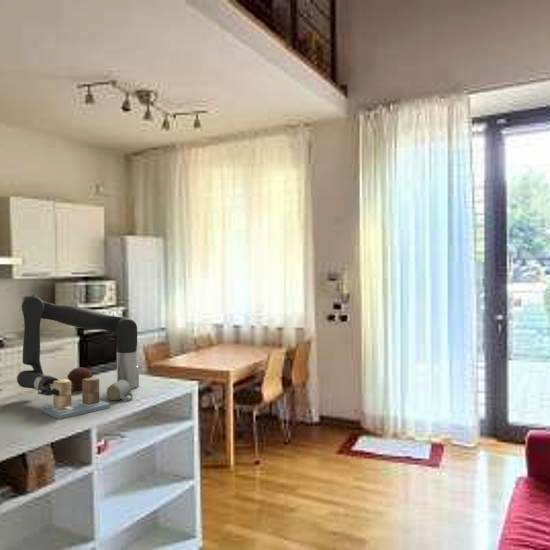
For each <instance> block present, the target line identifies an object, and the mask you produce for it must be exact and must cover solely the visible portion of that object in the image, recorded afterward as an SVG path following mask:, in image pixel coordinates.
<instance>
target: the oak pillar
mask: <svg viewBox="0 0 550 550" xmlns="http://www.w3.org/2000/svg"><path fill="white" fill-rule="evenodd" d="M53 388H54V389H57V390H59V396H56V395H53V406H55V407H57V408H63V407H68V406H71V402H72V393H71V381H70V380H69V379H68V378H64V379H58V380H57V381H53Z"/></svg>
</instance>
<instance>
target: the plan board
mask: <svg viewBox="0 0 550 550" xmlns="http://www.w3.org/2000/svg"><path fill="white" fill-rule="evenodd" d="M99 402H100V403H96V404H91V405H86V404H84V403H82V399H80V400H75V401H71V406H68V407H63V408H57V407H55V406H54V405H52V406H51V405H50V406H47V407H43V408H42V413H44V412H45V414H46V413H47V415H49V416H51V417H53V418H55V419H57V420H61V419H66V418H70V417H74V416H79V415H84V414H87V413H91V412H95V411H96V412H97V411H100V410H106V409H109V408H111V407H112V405H111V403H110V402H108V401H107V402H106V401H104V400H101V399H99Z"/></svg>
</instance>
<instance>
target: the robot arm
mask: <svg viewBox="0 0 550 550" xmlns="http://www.w3.org/2000/svg"><path fill="white" fill-rule="evenodd" d="M21 312H22V314H23V315H22V316H23V323H24V330H23V331H24V334H23V342H22V343H23V344H22V360H21V361H22V364H23V365H27V366H31V368H32V370H26V369H25V370H22V371H20V372H19V373H18V375H17V377H16V381H17V385H19V387H22V388H25V389H33V390H36V391H37V394H38V395H42V396H46V397H49V396H54V395H56V396H59V390H57V389H54V388H53V381H57V380H59V379H58V378H57V377H54V376H51V375H49V374H44V371H43V367H42V364H41V336H40V333H41V332H40V331H41V330H40V328H41V321H42V320H49V321H54V322H57V323H61V324H63V325H66V326H72V327H76V328H80V329H86V330H101V331H103V330H104V331H107V332H111V333H114V334H116V382H118V381H120V380H125V381H127V382H128V383H129V385H130V387H131V388H132V389H135V387H136V388H137V386H138V387H139V386H140V384H139V383H140V380H139V379H140V377H139V376H140V374H139V373H140V369H139V366H138V365H137V364H138V362H137V361H138V357H137V356H138V352H137V349H138V348H137V347H138V325H137V323H136V322H135V321H134V319H132V318H131V317H128V316H127V317H126V316H117V315H116V316H115V315H109V314H105V313H102V312H100V311H97V310H94V309H93V310H92V309H89V308H85V307H80V306H73V305H65V304H64V305H62V304H61V305H60V304H54V303H51V302H47V301H44V300H42V299H41V297H39V296H34V295H31V296H28V297H26V298H25V299H24V300H23V301H22V304H21ZM74 392H75V391H74V388H73V384H72V383H71V394H73V393H74Z"/></svg>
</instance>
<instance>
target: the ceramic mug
mask: <svg viewBox="0 0 550 550" xmlns="http://www.w3.org/2000/svg"><path fill="white" fill-rule="evenodd" d="M106 396H107V398H109V400H111V401H120V400H123V401H126V402H130V401H132V400H133V397H134V394H133V393H132V391H131V387H130V385H129V383H128V382H127V381H125V380H120V381H118V382H117V381H116V382H115V383H112V384H110V385H109V386H108V387H107V389H106ZM128 396H130V397H128ZM129 400H130V401H129Z"/></svg>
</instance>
